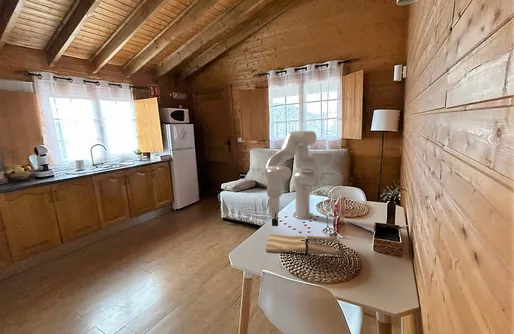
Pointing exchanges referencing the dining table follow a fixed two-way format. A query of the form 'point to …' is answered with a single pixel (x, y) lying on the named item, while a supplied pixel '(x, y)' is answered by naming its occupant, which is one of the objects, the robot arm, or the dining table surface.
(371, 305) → the dining table surface
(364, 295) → the dining table surface
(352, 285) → the dining table surface
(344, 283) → the dining table surface
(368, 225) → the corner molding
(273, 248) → the oak plank
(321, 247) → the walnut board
